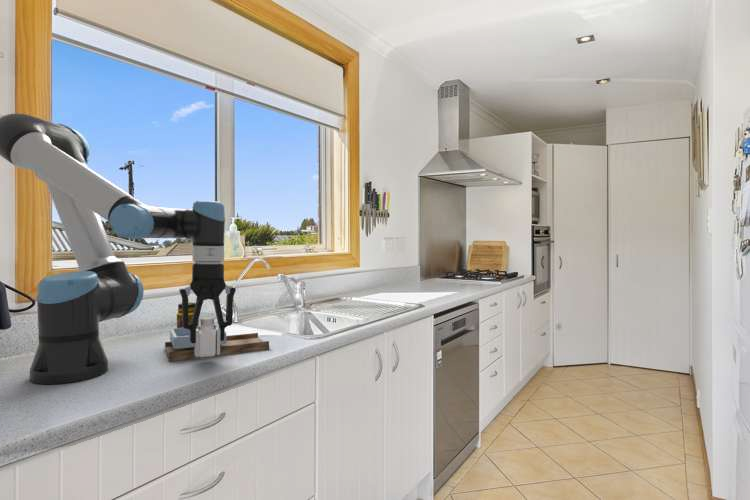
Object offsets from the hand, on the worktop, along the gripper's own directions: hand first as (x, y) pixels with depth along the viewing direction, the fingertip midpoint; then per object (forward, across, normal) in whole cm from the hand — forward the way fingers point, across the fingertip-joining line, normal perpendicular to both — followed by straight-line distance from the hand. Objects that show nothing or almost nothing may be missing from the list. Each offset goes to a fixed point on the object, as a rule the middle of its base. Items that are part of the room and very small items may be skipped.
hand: (207, 354), depth 116 cm
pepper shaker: (+1, 0, 0) cm, 1 cm away
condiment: (+3, -1, +26) cm, 26 cm away
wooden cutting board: (+2, +5, +13) cm, 14 cm away
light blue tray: (+1, -1, +13) cm, 13 cm away
